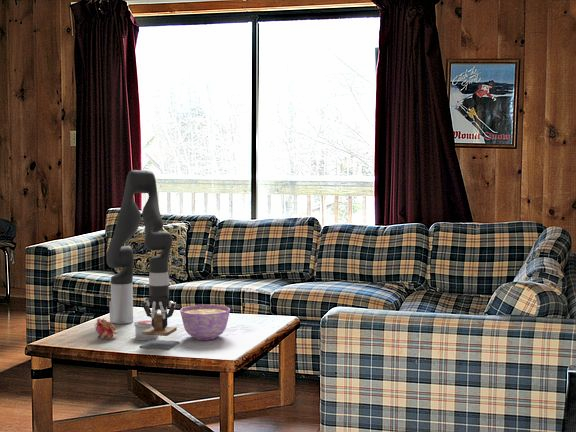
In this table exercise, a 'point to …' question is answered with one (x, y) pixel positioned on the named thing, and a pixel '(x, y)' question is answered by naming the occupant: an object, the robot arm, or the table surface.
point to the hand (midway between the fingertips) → (159, 327)
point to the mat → (159, 344)
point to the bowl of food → (205, 320)
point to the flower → (105, 329)
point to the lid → (159, 327)
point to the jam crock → (142, 326)
